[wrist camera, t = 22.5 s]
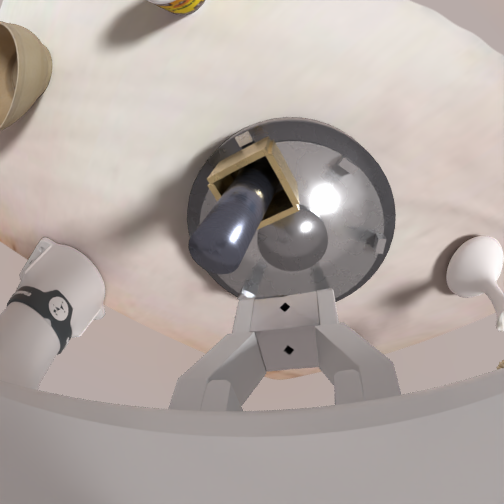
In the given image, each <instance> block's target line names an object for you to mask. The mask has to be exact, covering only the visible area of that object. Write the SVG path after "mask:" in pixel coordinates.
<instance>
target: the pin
mask: <svg viewBox="0 0 504 504" xmlns="http://www.w3.org/2000/svg"><path fill="white" fill-rule="evenodd" d="M279 184H280V181H279V179H278V177H277V175H276V174H275V172H274V170H273V168H272V166H271V165H270V163H269V161H268V159H267V158H266V156H263V157H261V158H260V159H258V160H256V161H254V162H252V163H250V164H248V165H246V166H245V167H244V168H243V169H242V171H241V172H240V173H239V174H238V176H237V177H236V178H235V180H234V181H233V182H232V183H231V185H230V186H229V187H228V189H227V190H226V191H225V192H224V194H223V195H222V196H221V198H220V199H219V200H218V202H217V203H216V204H215V205H214V207H213V208H212V209H211V211H210V212H209V213H208V215H207V216H206V217H205V219H204V220H203V221H202V223H201V224H200V225H199V227H198V228H197V229H196V231H195V232H194V233H193V235H192V236H191V238H190V240H189V251H190V254H191V256H192V258H193V259H194V260H195V262H196V263H197V264H198V265H200V266H201V267H202V268H204V269H205V270H207V271H209V272H212V273H215V274H229V273H232V272H234V271H235V270H236V269H237V268H238V267H239V265H240V263H241V261H242V259H243V257H244V255H245V253H246V251H247V249H248V247H249V245H250V243H251V241H252V239H253V237H254V235H255V232H256V230H257V228H258V226H259V224H260V222H261V220H262V218H263V216H264V214H265V212H266V210H267V208H268V206H269V204H270V202H271V200H272V198H273V196H274V194H275V192H276V190H277V188H278V186H279Z"/></svg>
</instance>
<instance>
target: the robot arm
mask: <svg viewBox="0 0 504 504" xmlns="http://www.w3.org/2000/svg"><path fill="white" fill-rule="evenodd" d="M20 279H21V282H20V284H19V286H18V288H17V290H16V292H15V293H14V294H13V295H12V297H11V298H10V300H9V302H8V303H7V307H6V309H5V310H4V311H3V312H2V313H1V315H0V504H504V368H501V369H498V370H495V371H492V372H489V373H486V374H483V375H479V376H476V377H473V378H469V379H466V380H463V381H459V382H455V383H451V384H448V385H444V386H440V387H435V388H431V389H427V390H422V391H417V392H413V393H408V394H403V395H401V392H400V388H399V384H398V380H397V376H396V372H395V368H394V364H393V362H392V361H391V360H390V359H388V358H387V357H386V356H385V355H384V354H382V353H381V352H380V351H379V350H377V349H376V348H375V347H374V346H372V345H371V344H370V343H369V342H367V341H366V340H365V339H364V338H362V337H361V336H360V335H359V334H357V333H356V332H355V331H354V330H352V329H351V328H350V327H349V326H347V325H346V324H345V323H344V322H342V323H339V321H338V315H337V309H336V303H335V297H334V291H333V289H332V288H330V289H324V290H317V291H314V292H306V293H298V294H290V295H278V296H267V297H256V298H246V299H240V300H239V302H238V306H237V311H236V315H235V320H234V325H233V330H232V334H227V335H226V336H225V337H224V338H223V339H221V340H220V341H219V342H218V343H217V344H216V345H215V346H214V347H213V348H212V349H211V350H209V351H208V352H207V353H206V354H205V355H204V356H203V357H202V358H201V359H200V360H199V361H197V362H196V363H195V364H194V365H193V366H192V367H191V368H190V369H188V370H187V371H186V372H185V373H184V374H183V375H182V376H181V377H180V378H178V380H177V383H176V387H175V390H174V393H173V396H172V399H171V403H170V406H169V409H159V408H148V407H147V408H146V407H137V406H128V405H120V404H112V403H104V402H98V401H91V400H85V399H80V398H73V397H69V396H63V395H58V394H54V393H49V392H44V391H40V390H38V388H39V386H40V383H41V381H42V379H43V377H44V376H45V374H46V372H47V370H48V368H49V367H50V365H51V363H52V362H53V360H54V358H55V357H56V355H58V354H60V353H61V352H62V350H63V349H64V348H65V347H66V346H67V344H68V342H69V340H70V338H71V337H80V336H81V335H82V334H83V332H84V331H85V330H86V328H87V327H88V326H89V324H90V323H91V322H92V320H96V319H102V318H103V317H104V315H105V309H104V305H103V302H104V298H105V286H104V282H103V279H102V277H101V275H100V273H99V271H98V270H97V268H96V267H95V265H94V264H93V263H92V262H91V261H90V260H89V259H88V258H87V257H86V256H85V255H84V254H82V253H81V252H80V251H78V250H76V249H75V248H72V247H70V246H67V245H62V244H57V243H55V242H54V241H52V240H50V239H49V238H47V237H43V238H42V239H41V240H40V242H39V243H38V245H37V246H36V248H35V250H34V251H33V253H32V254H31V256H30V258H29V259H28V261H27V263H26V264H25V266H24V268H23V269H22V271H21V273H20ZM313 367H319V368H320V369H321V371H322V372H323V373H324V374H325V375H326V377H327V378H328V379H329V380H330V381H331V383H332V384H333V385H334V389H335V390H334V391H335V405H332V406H323V407H312V408H300V409H286V410H269V411H268V410H267V411H243V409H242V407H241V406H242V405H243V404H244V402H245V401H246V400H247V398H248V397H249V395H250V394H251V393H252V392H253V390H254V389H255V388H256V386H257V385H258V384H259V382H260V381H261V380H262V378H263V377H264V376H265V374H266V372H267V371H277V370H287V369H299V368H313Z"/></svg>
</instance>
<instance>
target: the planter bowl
mask: <svg viewBox="0 0 504 504" xmlns="http://www.w3.org/2000/svg"><path fill="white" fill-rule="evenodd" d="M51 73H52V59H51V55H50V52H49V50H48V49H47V48H46V47H45V46H44V45H43V44H42V43H41V42H40V40H39V39H38V38H37V37H36V36H35V35H34V34H33V33H32V32H31V31H29V30H28V29H26V28H24V27H22V26H19V25H16V24H11V23H5V22H2V21H0V131H1V130H3V129H5V128H7V127H8V126H10V125H12V124H13V123H14V122H16V121H17V120H18V119H20V118H21V117H22V116H23V115H24V114H25V113H26V112H27V111H28V110H29V109H30V108H31V106H32V105H33V104H34V103H35V101H36V100H37V98H38V97H40V96H41V95H42V93H43V92H44V91H45V89H46V88H47V86H48V84H49V81H50V77H51Z"/></svg>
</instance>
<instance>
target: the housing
mask: <svg viewBox="0 0 504 504" xmlns="http://www.w3.org/2000/svg"><path fill="white" fill-rule="evenodd" d="M267 136H269V138H270V140H271V141H272V140H274V141H280V140H304V141H311V142H315V143H319V144H322V145H325V146H328V147H330V148H332V149H334V150H337V151H338V152H340V153H342V154H343V155H345V156H346V157H348V158H349V159H350V160H351V161H353V162H354V163H355V164H356V165H357V166H358V167H359V168H360V169H361V170H362V171H363V172H364V174H365V175H366V176H367V177H368V179H369V180H370V182H371V183H372V185H373V187H374V188H375V190H376V192H377V195H378V197H379V199H380V203H381V206H382V210H383V217H384V233H383V234H384V236H385V237H386V243H385V248H384V252H383V254H378V256H377V258H376V260H375V262H374V264H373V265H372V267H371V268H370V270H369V271H368V272H367V274H366V275H365V276H364V277H363V278H362V279H361V280H360V281H359V282H358V283H357V284H356V285H355V286H354V287H352V288H351V289H350V290H348V291H347V292H346V293H344V294H342V295H340V296H339V297H337V298H335V302H337V301H339V300H341V299H343V298H345V297H347V296H348V295H350V294H352V293H353V292H355V291H356V290H357V289H359V288H360V287H361V286H362V285H364V284H365V283H366V282H367V281H368V280H369V279H370V278H371V277H372V276H373V274H374V273H375V272H376V271H377V270H378V268H379V267H380V265H381V264H382V262H383V261H384V259H385V257H386V255H387V253H388V251H389V248H390V245H391V242H392V239H393V234H394V229H395V215H396V214H395V204H394V198H393V194H392V190H391V187H390V185H389V183H388V180H387V178H386V176H385V174H384V172H383V171H382V169H381V167H380V166H379V164H378V163H377V162H376V161H375V159H374V158H373V157H372V156H371V155H370V154H369V153H368V152H367V151H366V150H365V149H364V148H363V147H362V146H361V145H360V144H359V143H358V142H357V141H355V140H354V139H353V138H352V137H351V136H349V135H348V134H346V133H345V132H343V131H341V130H340V129H338V128H335V127H333V126H331V125H329V124H326V123H323V122H320V121H317V120H313V119H307V118H299V117H284V118H275V119H269V120H266V121H262V122H258V123H256V124H253V125H251V126H248V127H246V128H244V129H242V130H241V131H239V132H237V133H236V134H234V135H233V136H231V137H230V138H229V139H228V140H226V141H225V142H224V143H223V144H222V145H221V146H220V147H219V148H218V149H217V150H216V151H215V152H214V153H213V155H212V156H211V157H210V158H209V159H208V160H207V162H206V163H205V164H204V166H203V167H202V169H201V170H200V172H199V174H198V176H197V178H196V180H195V182H194V184H193V187H192V190H191V193H190V197H189V203H188V209H187V223H188V230H189V236H190V238H191V236H192V235H193V233H194V232H195V231H196V229H197V226H198V224H199V223H200V215H201V208H202V205H203V202H204V199H205V196H206V194H207V192H208V190H209V187H208V184H209V182H208V180H207V178H208V176H209V175H210V174H211V172H212V171H213V170H214V168H215V167H216V166H217V164H218V163H219V162H220V161H222V160H223V159H225V158H227V157H229V156H231V155H233V154H235V153H236V152H238V151H240V150H242V149H244V148H246V147H248V146H250V145H252V144H254V143H256V142H258V141H260V140H261V139H263V138H265V137H267ZM206 271H207V270H206ZM207 272H208V273H209V275H210V276H211V277H212V278H213V279H214V280H215V281H216V282H217V283H218V284H219V285H221V286H222V287H223V288H224V289H226V290H227V291H228V292H230V293H232V294H233V295H235V296H236V297H238V295H239V293H238V292H236V291H235V290H234V289H232V288H231V287H230V286H229V285H227V284H226V283H225V282H224V281H223V280H222V279H221V278H220V277H219V275H218V274H215V273H212V272H209V271H207Z"/></svg>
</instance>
